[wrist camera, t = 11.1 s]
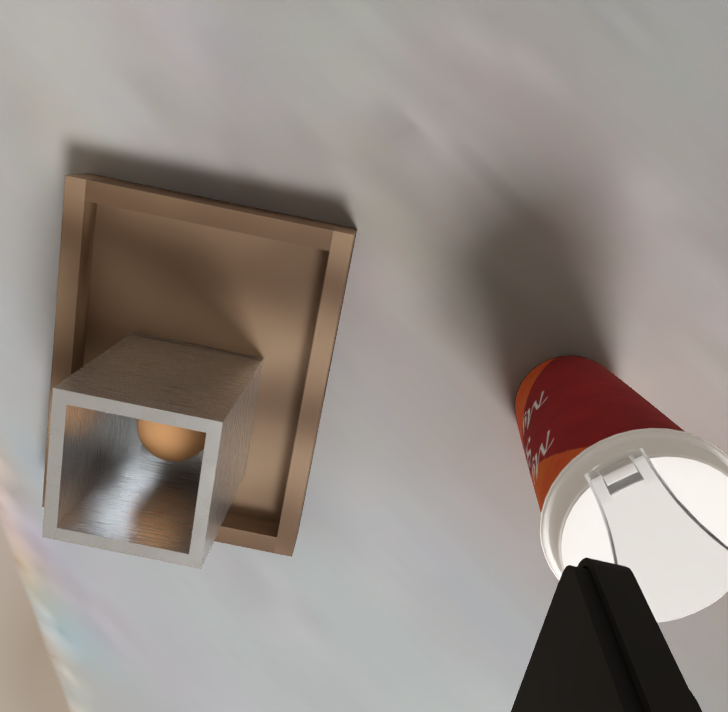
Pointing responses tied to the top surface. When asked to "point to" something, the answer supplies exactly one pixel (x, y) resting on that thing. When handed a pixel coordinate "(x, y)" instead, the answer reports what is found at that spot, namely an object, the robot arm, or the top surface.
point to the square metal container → (134, 462)
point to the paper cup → (624, 485)
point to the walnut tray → (211, 317)
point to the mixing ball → (170, 440)
